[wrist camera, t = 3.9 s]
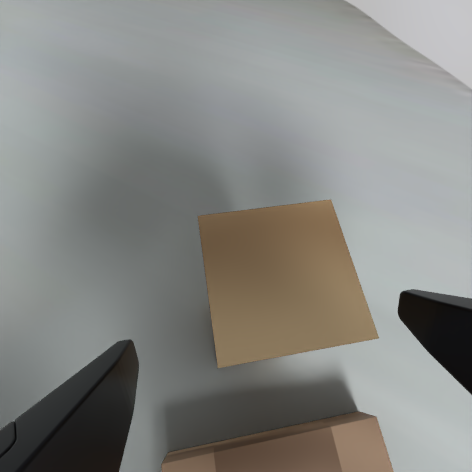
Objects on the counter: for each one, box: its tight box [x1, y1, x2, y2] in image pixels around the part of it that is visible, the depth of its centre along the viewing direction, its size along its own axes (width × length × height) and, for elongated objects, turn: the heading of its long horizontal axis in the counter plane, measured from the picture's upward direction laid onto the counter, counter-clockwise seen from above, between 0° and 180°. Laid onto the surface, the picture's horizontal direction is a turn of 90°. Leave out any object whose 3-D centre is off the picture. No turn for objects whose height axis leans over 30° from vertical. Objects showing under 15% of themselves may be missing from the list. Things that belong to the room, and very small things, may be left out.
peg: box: [198, 200, 379, 368], centre depth 13 cm, size 4×4×12 cm
